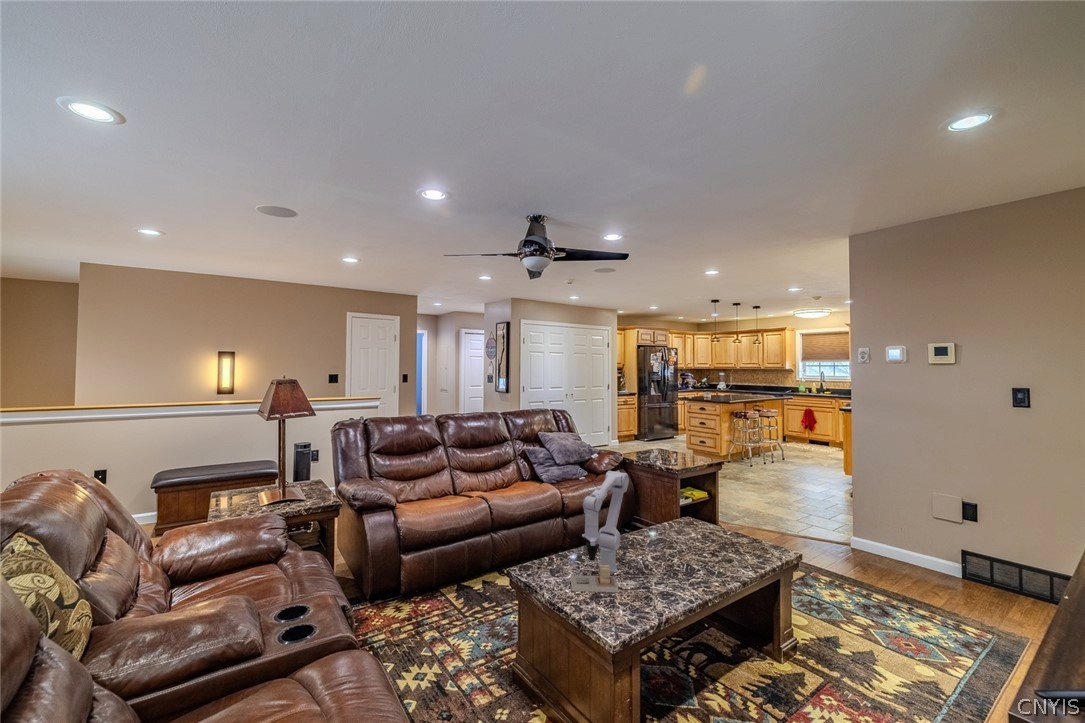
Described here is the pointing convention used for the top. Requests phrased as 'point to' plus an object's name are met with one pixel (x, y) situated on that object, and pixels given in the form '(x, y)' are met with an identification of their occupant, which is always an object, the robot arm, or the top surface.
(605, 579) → the peg
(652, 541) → the top surface
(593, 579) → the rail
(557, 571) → the top surface
